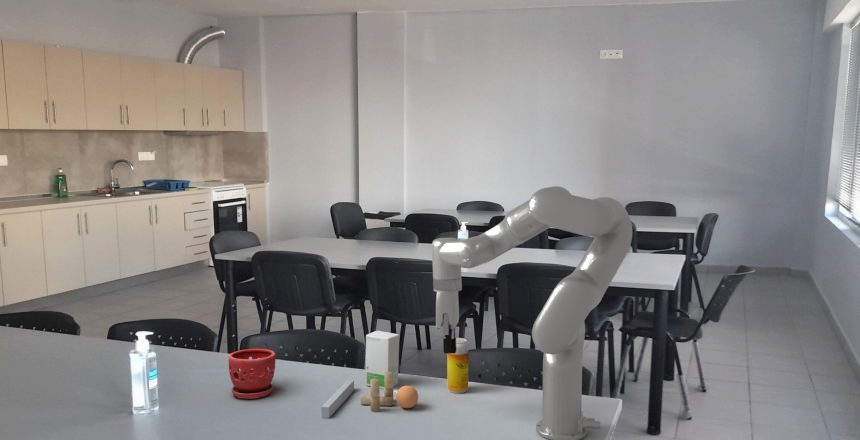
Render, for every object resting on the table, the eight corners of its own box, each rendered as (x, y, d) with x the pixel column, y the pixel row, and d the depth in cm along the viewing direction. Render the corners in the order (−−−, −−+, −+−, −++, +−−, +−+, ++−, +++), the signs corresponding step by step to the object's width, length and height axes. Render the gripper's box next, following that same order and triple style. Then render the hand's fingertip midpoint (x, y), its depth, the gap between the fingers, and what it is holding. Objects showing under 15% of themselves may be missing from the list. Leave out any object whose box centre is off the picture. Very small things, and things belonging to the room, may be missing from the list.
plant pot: (277, 398, 197) (276, 357, 196) (229, 403, 194) (228, 361, 192) (274, 384, 210) (273, 345, 209) (229, 388, 206) (228, 349, 205)
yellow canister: (466, 394, 200) (466, 343, 198) (445, 393, 201) (445, 342, 199) (469, 387, 205) (469, 338, 204) (449, 386, 207) (449, 337, 205)
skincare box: (364, 386, 208) (364, 334, 206) (376, 379, 213) (375, 329, 212) (388, 390, 204) (388, 338, 202) (400, 383, 209) (399, 333, 208)
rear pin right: (394, 400, 195) (393, 371, 194) (392, 403, 193) (391, 373, 192) (385, 399, 196) (385, 370, 195) (383, 403, 193) (383, 373, 192)
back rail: (354, 390, 204) (354, 380, 204) (328, 418, 183) (328, 407, 182) (347, 389, 204) (347, 379, 204) (321, 417, 183) (321, 406, 183)
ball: (395, 388, 193) (405, 407, 193) (389, 395, 187) (400, 415, 187) (413, 379, 192) (424, 398, 192) (408, 386, 186) (419, 406, 186)
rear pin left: (380, 409, 189) (380, 378, 188) (378, 412, 186) (378, 381, 186) (372, 408, 189) (371, 378, 188) (369, 411, 187) (369, 381, 186)
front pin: (393, 399, 193) (363, 398, 194) (391, 395, 191) (361, 394, 192) (391, 407, 191) (361, 406, 193) (390, 403, 190) (360, 402, 191)
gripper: (438, 279, 192) (441, 345, 194) (428, 289, 177) (431, 360, 179) (465, 279, 191) (467, 345, 192) (457, 289, 176) (460, 360, 177)
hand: (450, 352), depth 186 cm, fingers closed
